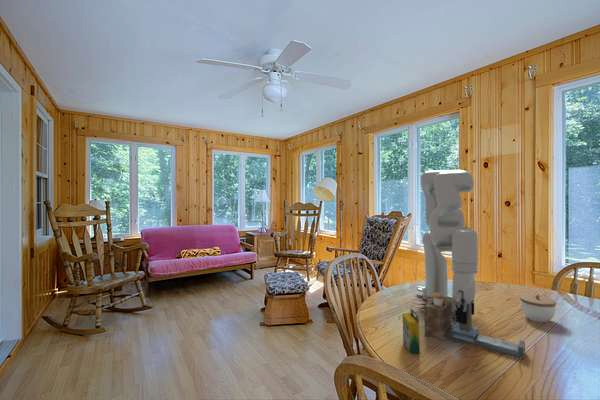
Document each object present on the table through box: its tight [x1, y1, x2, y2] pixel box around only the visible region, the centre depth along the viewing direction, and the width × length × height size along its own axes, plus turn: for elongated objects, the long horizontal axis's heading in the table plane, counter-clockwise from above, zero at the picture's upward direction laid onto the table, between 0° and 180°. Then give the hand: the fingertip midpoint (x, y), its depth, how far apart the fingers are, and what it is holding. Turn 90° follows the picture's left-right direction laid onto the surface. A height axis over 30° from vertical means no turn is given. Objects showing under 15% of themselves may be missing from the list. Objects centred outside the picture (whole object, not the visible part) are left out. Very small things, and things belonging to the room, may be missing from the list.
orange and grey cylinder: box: [433, 293, 443, 307], centre depth 103 cm, size 3×3×7 cm
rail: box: [445, 326, 526, 360], centre depth 94 cm, size 21×5×3 cm, turn 48°
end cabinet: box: [423, 299, 453, 341], centre depth 103 cm, size 6×10×10 cm, turn 138°
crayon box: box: [402, 307, 421, 355], centre depth 93 cm, size 7×3×12 cm, turn 178°
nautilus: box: [410, 295, 456, 318], centre depth 120 cm, size 8×22×15 cm
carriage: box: [453, 300, 479, 343], centre depth 98 cm, size 6×7×11 cm
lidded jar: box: [519, 294, 557, 323], centre depth 113 cm, size 11×11×9 cm
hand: (465, 318), depth 98 cm, fingers open, 9 cm apart
